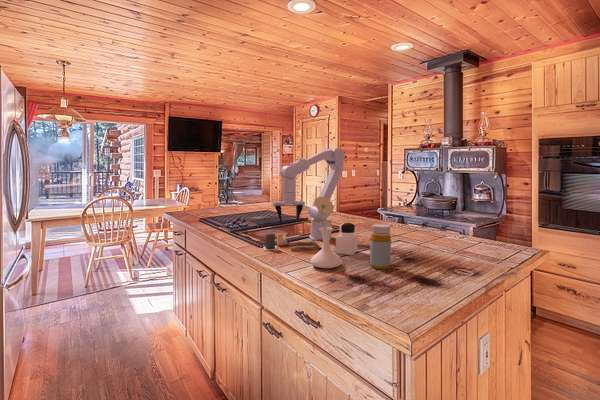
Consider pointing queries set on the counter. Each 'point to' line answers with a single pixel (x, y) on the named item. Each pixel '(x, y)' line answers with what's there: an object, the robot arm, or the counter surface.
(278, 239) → the latch bar
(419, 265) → the counter surface
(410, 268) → the counter surface
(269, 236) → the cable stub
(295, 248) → the frame
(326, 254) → the flower in vase
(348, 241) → the medicine bottle
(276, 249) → the off-white flat square block
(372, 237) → the bottle
